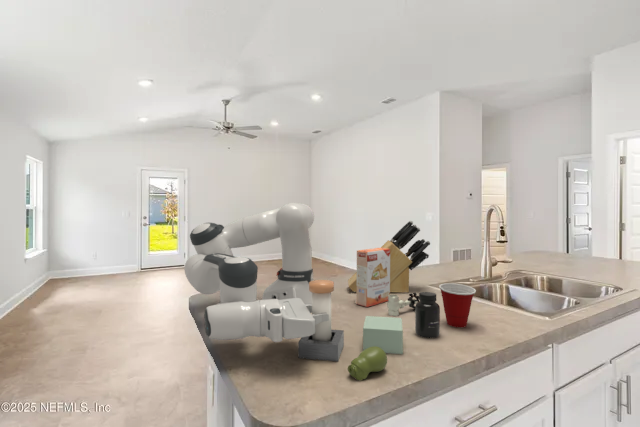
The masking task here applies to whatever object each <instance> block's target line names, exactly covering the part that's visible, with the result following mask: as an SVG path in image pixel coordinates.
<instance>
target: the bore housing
mask: <svg viewBox="0 0 640 427" xmlns="http://www.w3.org/2000/svg"><path fill="white" fill-rule="evenodd" d="M331 330H332V341H318V340H312V335H311V336H307V337H301V338H299V341H298V343H297V344H298V345H297V347H298V350H297V351H298V354H297V356H298V359H304V358H306V359H305V360H316V359H318V360H317V361H327V360H328V362H330V361H331V362H339V360H340V357H341V355H340V354H342V352H343V348H344V346H345V339H344V338H345V336H344V335H345V333H344V332H345V330H344V329H343V330H342V329H331Z"/></svg>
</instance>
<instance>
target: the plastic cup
mask: <svg viewBox="0 0 640 427" xmlns="http://www.w3.org/2000/svg"><path fill="white" fill-rule="evenodd" d="M438 288H439V290H440V293H441V298H442V303H443V305H442V306H443V311H444V314H445V319H446V324H447V325H448V326H450V327H452V328H453V327H454V328H460V329H461V328H466V327H467V325H468V320H469V315H470V311H471V306H472V301H473V298H474V295H475V294H476V292H477V290H476V288H474V287H472V286H470V285H467V284H461V283H455V282H446V283H441V284H439V285H438Z"/></svg>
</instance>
